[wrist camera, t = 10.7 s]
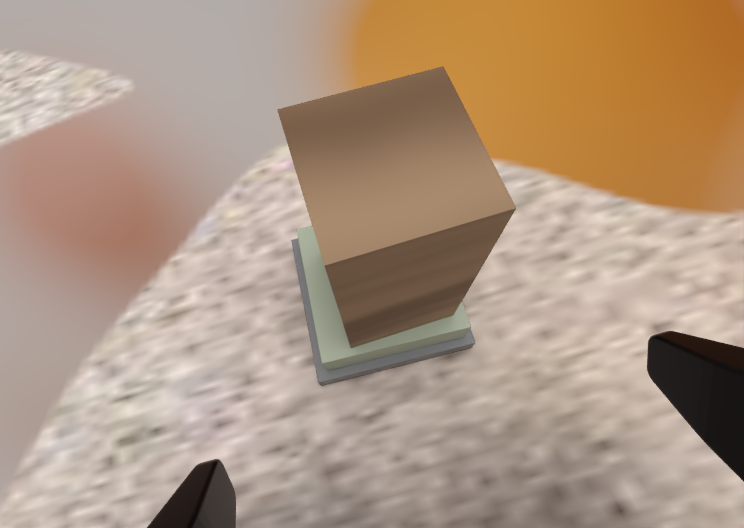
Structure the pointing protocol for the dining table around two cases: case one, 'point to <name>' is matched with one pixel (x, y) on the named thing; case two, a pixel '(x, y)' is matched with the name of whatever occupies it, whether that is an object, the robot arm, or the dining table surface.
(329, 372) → the gray base slab
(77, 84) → the dining table surface
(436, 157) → the walnut pillar
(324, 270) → the sage top slab
